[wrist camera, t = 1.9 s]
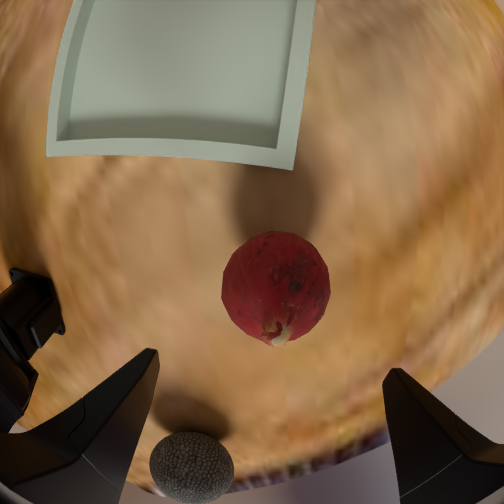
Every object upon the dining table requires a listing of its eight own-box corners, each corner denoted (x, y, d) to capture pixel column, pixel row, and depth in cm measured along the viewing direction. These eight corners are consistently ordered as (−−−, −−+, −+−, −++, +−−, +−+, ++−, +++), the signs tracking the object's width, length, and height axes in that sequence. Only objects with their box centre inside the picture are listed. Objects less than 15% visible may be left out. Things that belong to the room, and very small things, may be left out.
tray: (63, 153, 15) (45, 156, 13) (101, -29, 9) (90, -38, 7) (288, 166, 16) (292, 170, 14) (315, -39, 9) (320, -53, 8)
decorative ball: (156, 439, 30) (141, 496, 21) (162, 407, 26) (141, 481, 17) (225, 456, 31) (219, 514, 22) (246, 428, 27) (243, 503, 18)
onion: (256, 198, 17) (253, 250, 9) (333, 242, 18) (376, 313, 10) (215, 272, 19) (190, 355, 11) (286, 307, 20) (298, 395, 12)
